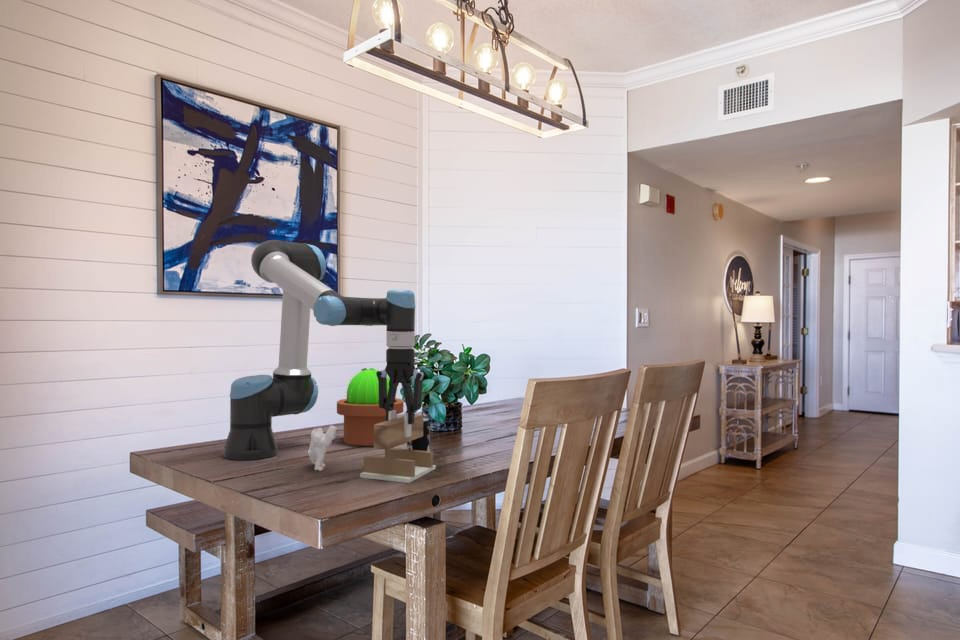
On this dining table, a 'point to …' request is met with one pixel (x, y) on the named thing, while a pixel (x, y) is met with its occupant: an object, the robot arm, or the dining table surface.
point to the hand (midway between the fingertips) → (399, 435)
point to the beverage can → (421, 439)
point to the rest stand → (398, 465)
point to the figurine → (320, 445)
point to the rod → (396, 432)
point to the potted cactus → (363, 408)
